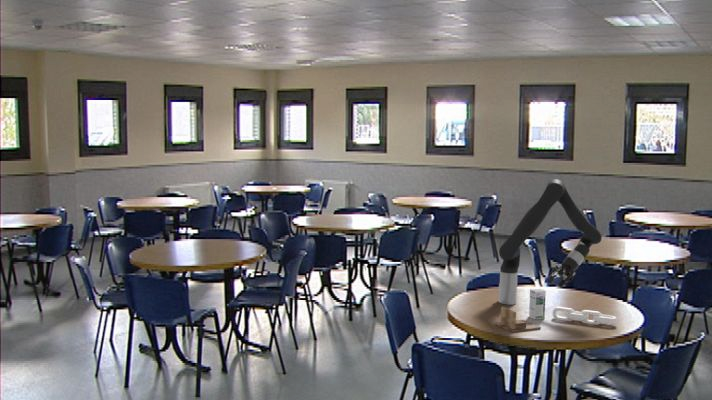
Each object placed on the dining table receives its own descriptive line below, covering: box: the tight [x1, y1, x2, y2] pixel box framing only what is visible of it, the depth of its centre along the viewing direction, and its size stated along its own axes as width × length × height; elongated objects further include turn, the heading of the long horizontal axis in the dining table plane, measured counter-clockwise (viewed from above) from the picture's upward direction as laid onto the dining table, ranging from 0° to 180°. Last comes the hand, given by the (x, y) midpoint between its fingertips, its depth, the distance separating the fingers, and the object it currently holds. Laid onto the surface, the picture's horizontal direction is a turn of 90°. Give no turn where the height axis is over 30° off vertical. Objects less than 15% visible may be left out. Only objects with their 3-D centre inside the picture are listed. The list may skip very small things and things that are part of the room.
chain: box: [552, 306, 618, 326], centre depth 343 cm, size 30×6×6 cm, turn 67°
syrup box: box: [528, 288, 547, 321], centre depth 348 cm, size 6×6×14 cm
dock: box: [494, 306, 541, 334], centre depth 332 cm, size 14×16×9 cm
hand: (553, 284), depth 351 cm, fingers open, 8 cm apart
